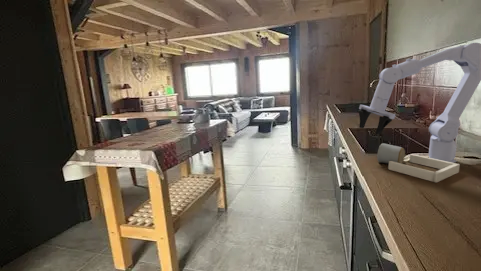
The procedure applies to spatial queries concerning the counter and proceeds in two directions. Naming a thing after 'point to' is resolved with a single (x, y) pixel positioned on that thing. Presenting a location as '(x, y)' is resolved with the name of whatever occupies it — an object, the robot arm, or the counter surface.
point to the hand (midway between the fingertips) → (369, 130)
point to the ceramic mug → (390, 153)
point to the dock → (437, 176)
